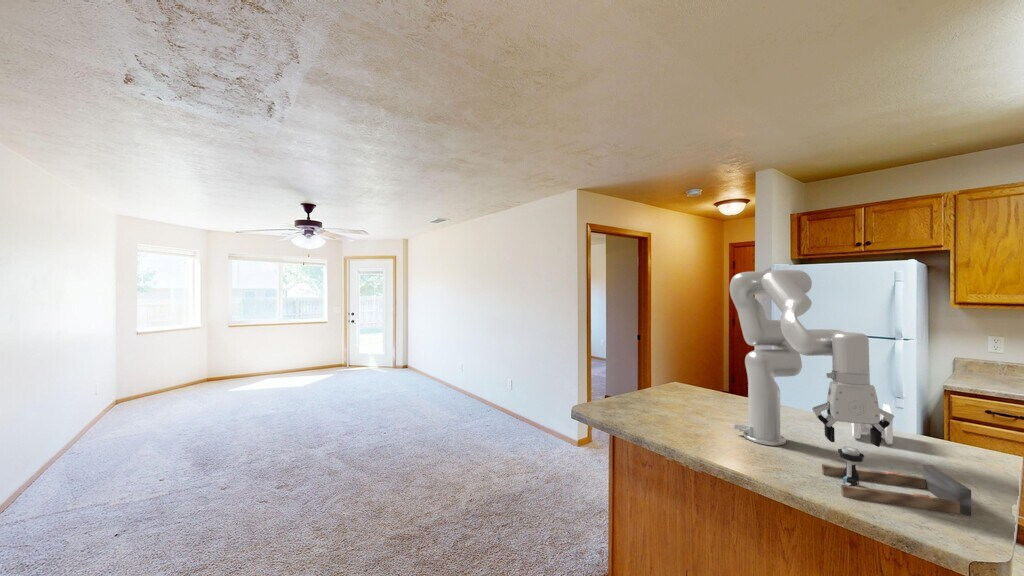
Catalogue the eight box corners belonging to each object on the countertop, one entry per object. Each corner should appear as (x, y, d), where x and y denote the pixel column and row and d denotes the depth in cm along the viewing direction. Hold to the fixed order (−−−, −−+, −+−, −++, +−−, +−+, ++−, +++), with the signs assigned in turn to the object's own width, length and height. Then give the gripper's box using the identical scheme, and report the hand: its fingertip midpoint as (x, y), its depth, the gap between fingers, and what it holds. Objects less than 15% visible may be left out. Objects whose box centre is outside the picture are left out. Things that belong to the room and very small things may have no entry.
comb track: (843, 496, 100) (843, 473, 100) (821, 472, 112) (821, 452, 112) (971, 515, 91) (971, 490, 91) (932, 487, 104) (932, 465, 104)
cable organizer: (893, 448, 129) (893, 414, 129) (851, 440, 136) (851, 407, 136) (889, 435, 140) (889, 403, 140) (850, 428, 147) (850, 398, 147)
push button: (859, 494, 100) (859, 456, 100) (833, 486, 105) (833, 449, 105) (866, 486, 104) (866, 449, 104) (841, 479, 109) (841, 443, 109)
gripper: (817, 379, 104) (819, 443, 103) (900, 383, 98) (902, 452, 97) (807, 373, 111) (808, 434, 110) (883, 378, 105) (885, 441, 104)
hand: (852, 442), depth 104 cm, fingers open, 9 cm apart
